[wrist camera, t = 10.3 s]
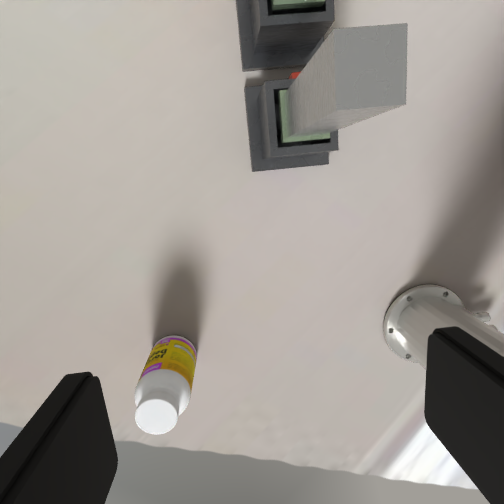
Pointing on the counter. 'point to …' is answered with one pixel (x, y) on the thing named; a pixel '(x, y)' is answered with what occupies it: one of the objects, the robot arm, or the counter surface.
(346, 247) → the counter surface
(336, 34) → the column
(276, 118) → the stand sleeve
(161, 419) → the supplement bottle
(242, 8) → the twin stand
